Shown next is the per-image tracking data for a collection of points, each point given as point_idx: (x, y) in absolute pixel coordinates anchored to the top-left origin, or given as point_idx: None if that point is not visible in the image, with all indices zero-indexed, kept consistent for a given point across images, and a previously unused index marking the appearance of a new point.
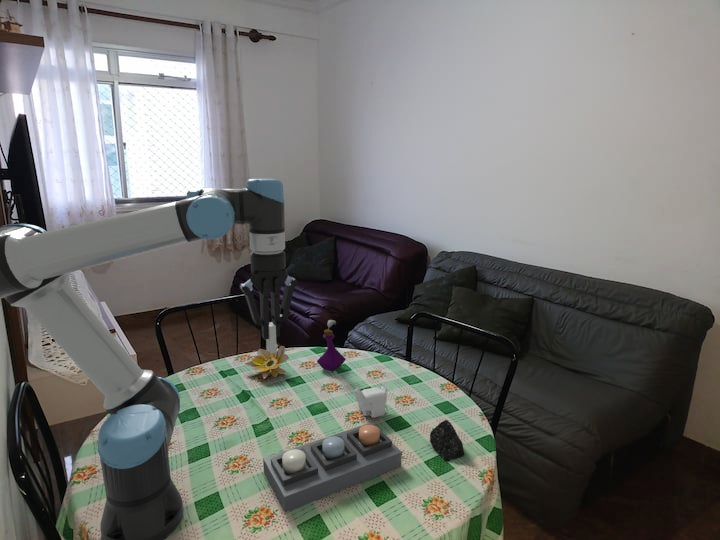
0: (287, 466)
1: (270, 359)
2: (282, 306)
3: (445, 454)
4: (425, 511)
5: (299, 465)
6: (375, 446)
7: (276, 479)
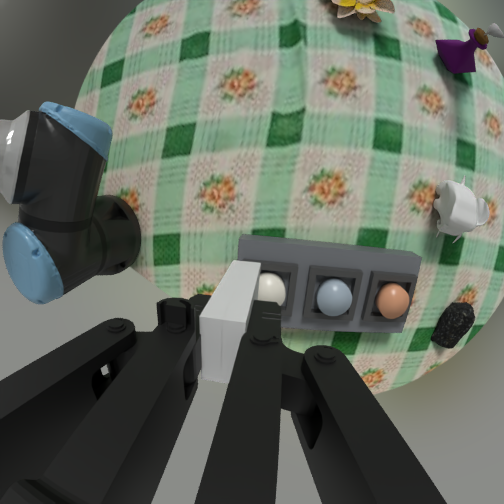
0: None
1: None
2: (325, 446)
3: (436, 336)
4: None
5: None
6: (382, 320)
7: None
